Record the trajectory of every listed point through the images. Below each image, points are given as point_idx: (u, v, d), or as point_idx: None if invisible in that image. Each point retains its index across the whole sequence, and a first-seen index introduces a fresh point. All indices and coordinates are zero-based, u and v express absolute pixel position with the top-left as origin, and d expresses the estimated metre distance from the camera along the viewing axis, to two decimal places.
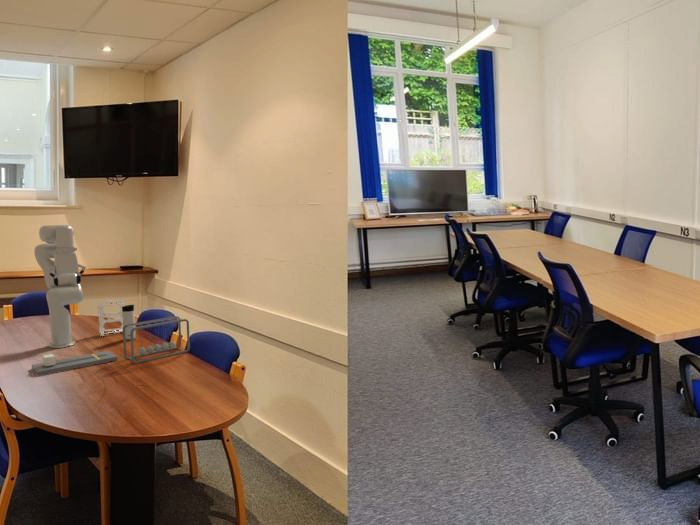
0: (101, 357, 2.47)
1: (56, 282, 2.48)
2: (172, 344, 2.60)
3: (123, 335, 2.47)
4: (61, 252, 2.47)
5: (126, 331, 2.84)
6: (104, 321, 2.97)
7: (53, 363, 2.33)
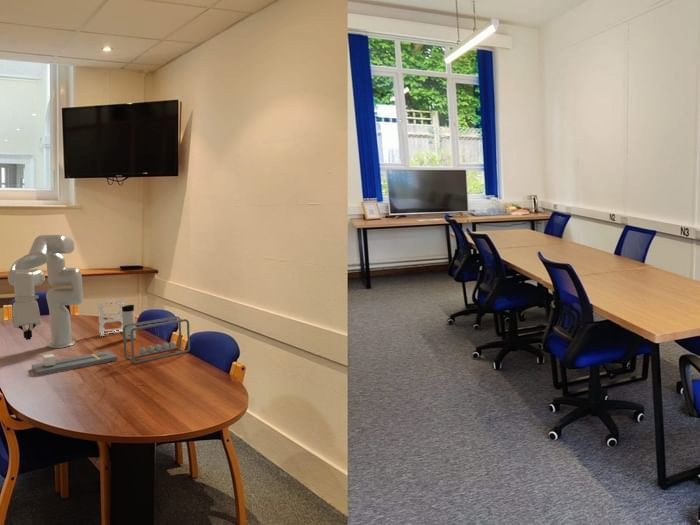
0: (101, 357, 2.47)
1: (26, 335, 2.26)
2: (172, 344, 2.59)
3: (123, 335, 2.47)
4: (20, 301, 2.22)
5: (126, 331, 2.84)
6: (104, 321, 2.97)
7: (53, 363, 2.33)
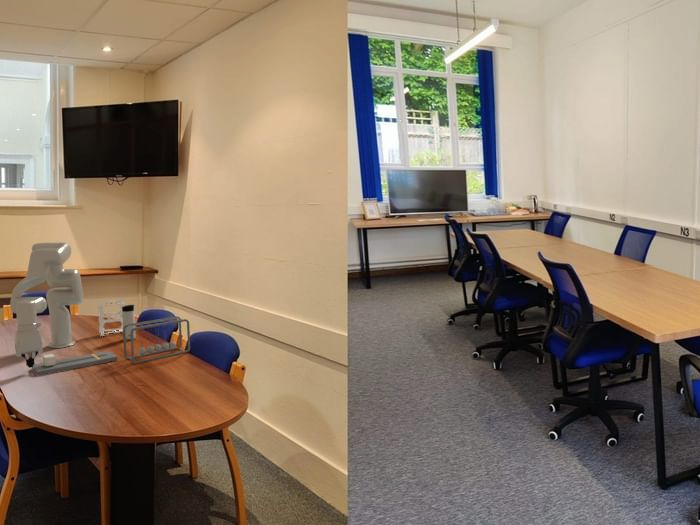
0: (101, 357, 2.47)
1: (28, 363, 2.28)
2: (172, 344, 2.59)
3: (123, 335, 2.47)
4: (22, 330, 2.24)
5: (126, 331, 2.84)
6: (104, 321, 2.97)
7: (53, 363, 2.33)
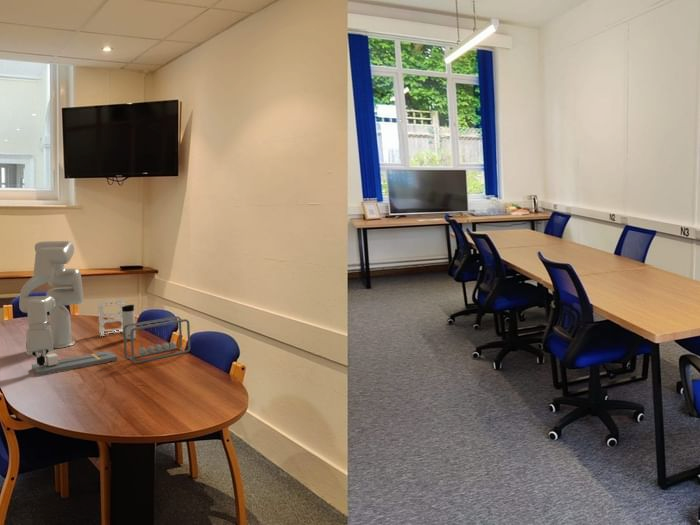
0: (101, 357, 2.47)
1: (39, 362, 2.31)
2: (172, 344, 2.59)
3: (123, 335, 2.47)
4: (33, 329, 2.27)
5: (126, 331, 2.84)
6: (104, 321, 2.97)
7: (56, 362, 2.34)
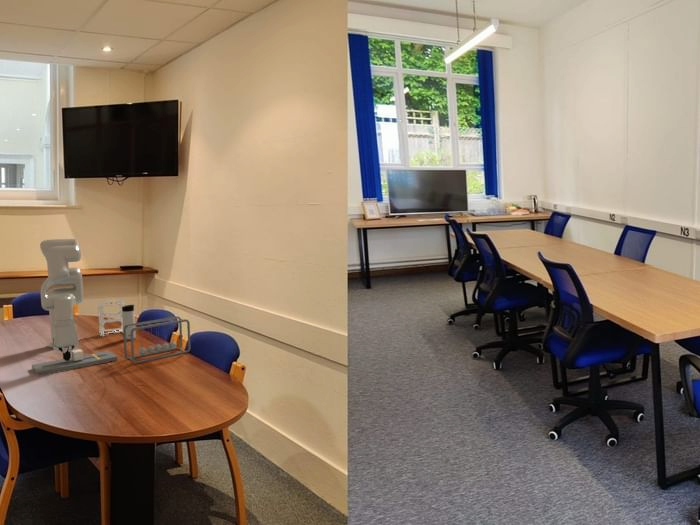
0: (101, 357, 2.47)
1: (65, 357, 2.38)
2: (173, 344, 2.59)
3: (123, 335, 2.47)
4: (60, 325, 2.34)
5: (126, 331, 2.84)
6: (104, 321, 2.97)
7: (81, 358, 2.41)
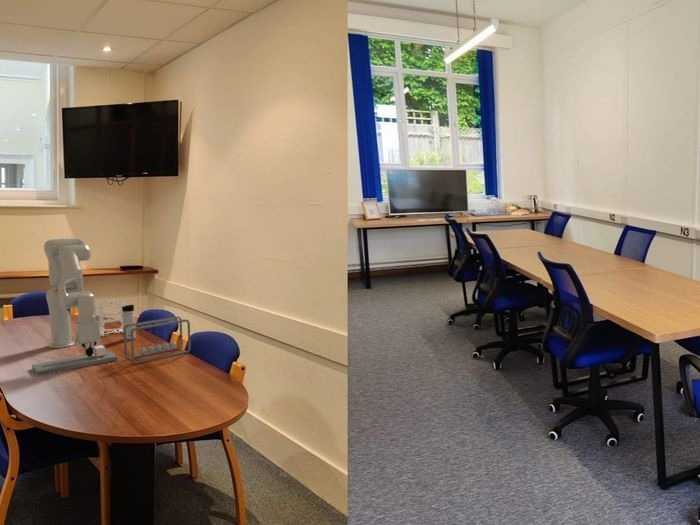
0: (101, 357, 2.47)
1: (88, 353, 2.44)
2: (173, 344, 2.59)
3: (124, 335, 2.47)
4: (83, 322, 2.40)
5: (126, 331, 2.84)
6: (104, 321, 2.97)
7: (103, 354, 2.48)
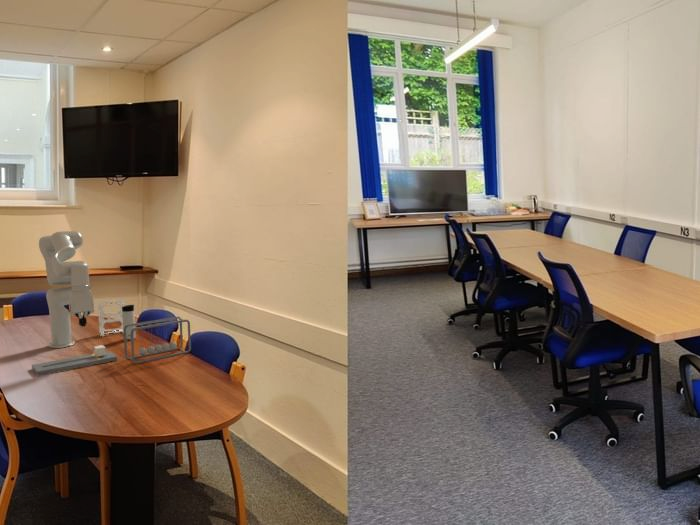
0: (101, 357, 2.47)
1: (81, 322, 2.43)
2: (173, 345, 2.59)
3: (124, 335, 2.47)
4: (77, 291, 2.38)
5: (126, 331, 2.84)
6: (104, 321, 2.97)
7: (104, 354, 2.48)
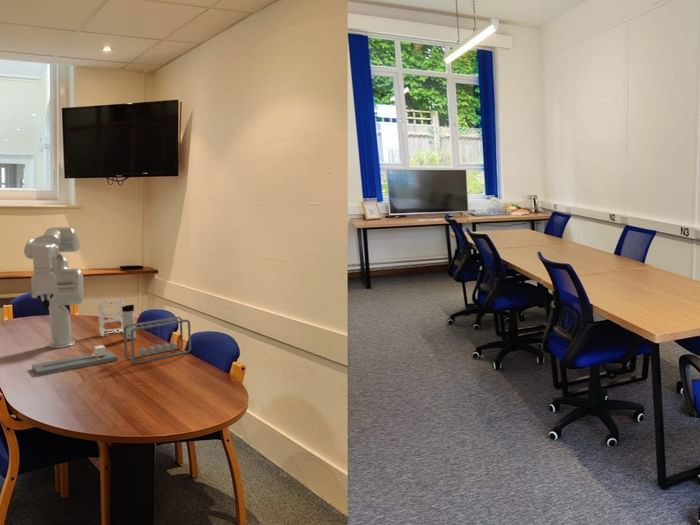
0: (101, 357, 2.47)
1: (44, 305, 2.39)
2: (173, 345, 2.59)
3: (124, 335, 2.47)
4: (38, 272, 2.35)
5: (126, 331, 2.84)
6: (104, 321, 2.97)
7: (104, 354, 2.48)
